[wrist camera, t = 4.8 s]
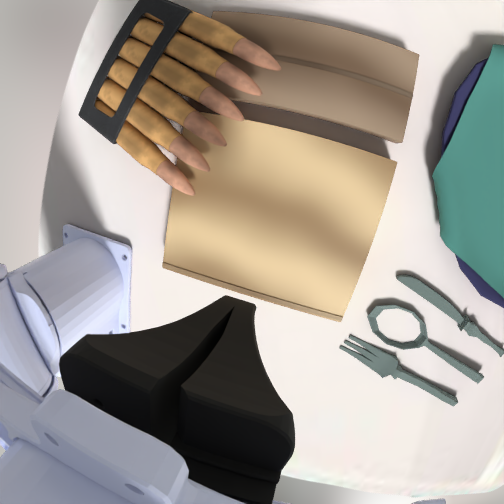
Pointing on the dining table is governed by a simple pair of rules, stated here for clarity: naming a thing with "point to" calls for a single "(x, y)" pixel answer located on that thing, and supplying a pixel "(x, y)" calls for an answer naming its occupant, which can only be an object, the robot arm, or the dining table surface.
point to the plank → (278, 215)
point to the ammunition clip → (175, 76)
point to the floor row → (324, 73)
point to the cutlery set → (461, 218)
